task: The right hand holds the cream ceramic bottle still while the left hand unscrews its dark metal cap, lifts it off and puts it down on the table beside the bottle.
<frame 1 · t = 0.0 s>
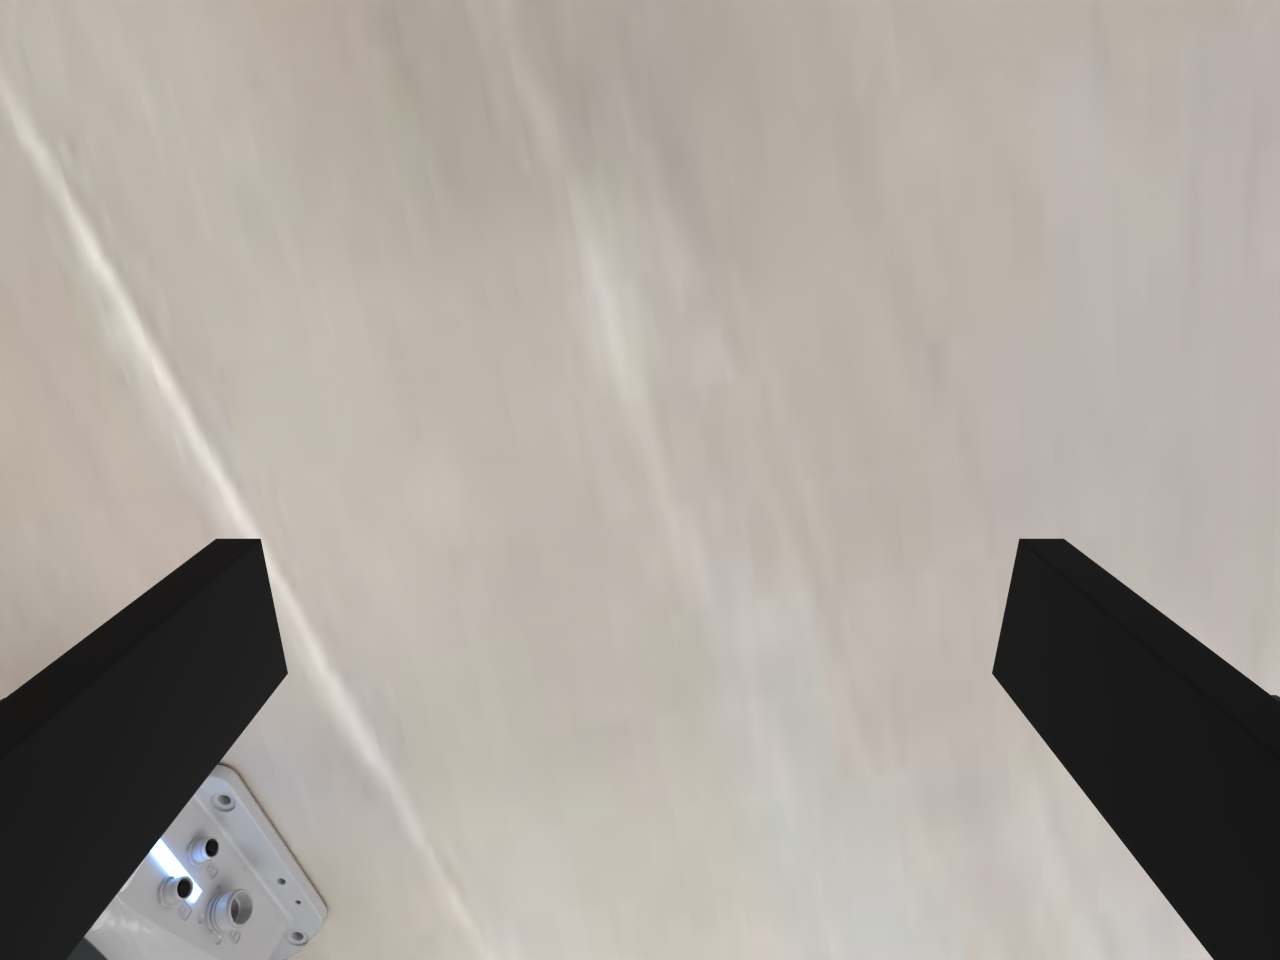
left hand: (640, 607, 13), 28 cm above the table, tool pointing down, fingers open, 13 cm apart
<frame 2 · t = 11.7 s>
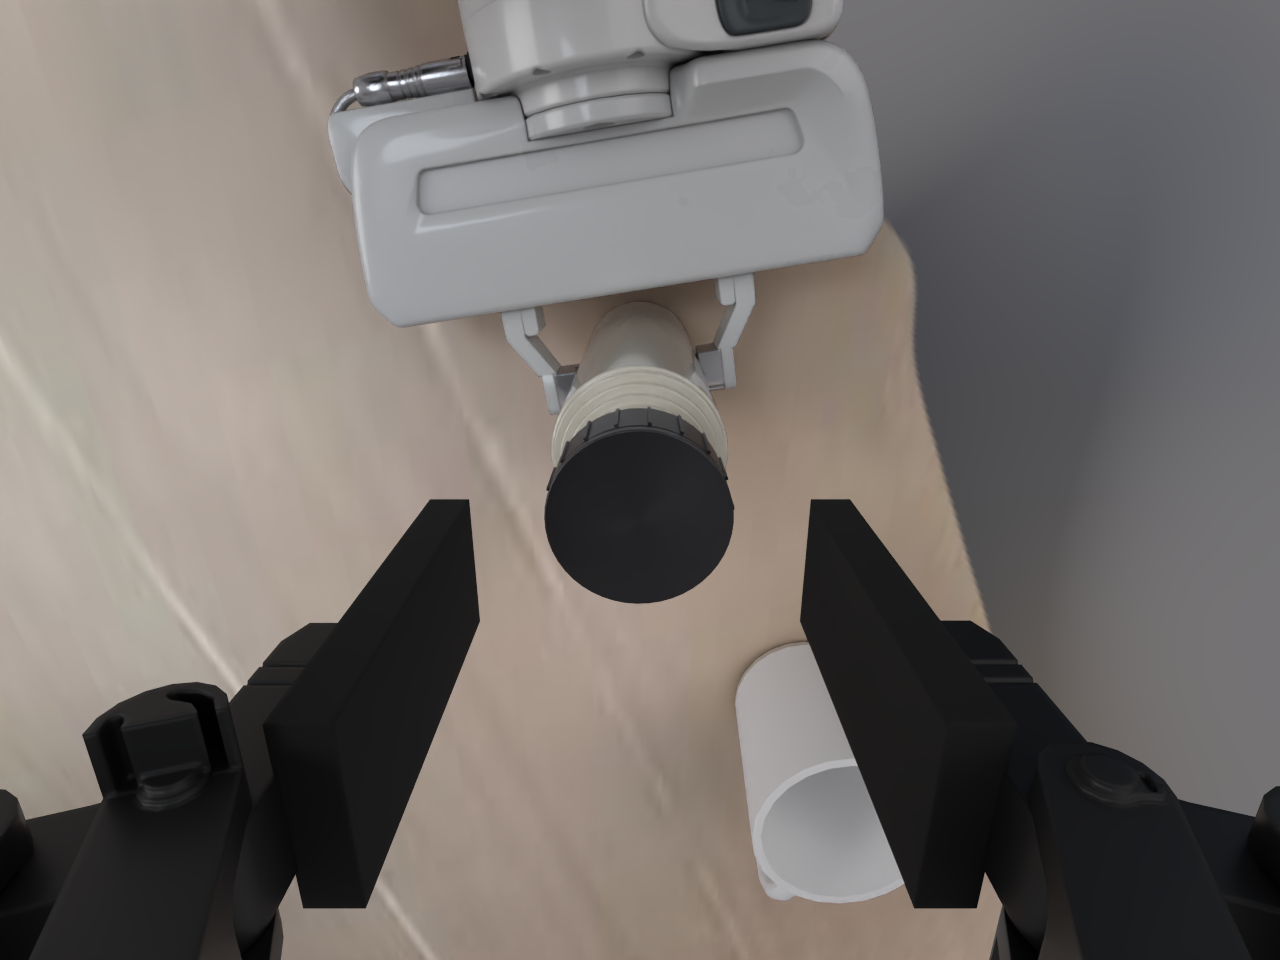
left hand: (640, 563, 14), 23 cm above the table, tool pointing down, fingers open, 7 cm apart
right hand: (644, 398, 31), fingers closed on bottle, 5 cm apart
cap: (639, 515, 16), point 21 cm above the table, screwed on, not yet turned
mug: (790, 706, 44), on the table
bottle: (639, 353, 36), on the table, touching right hand
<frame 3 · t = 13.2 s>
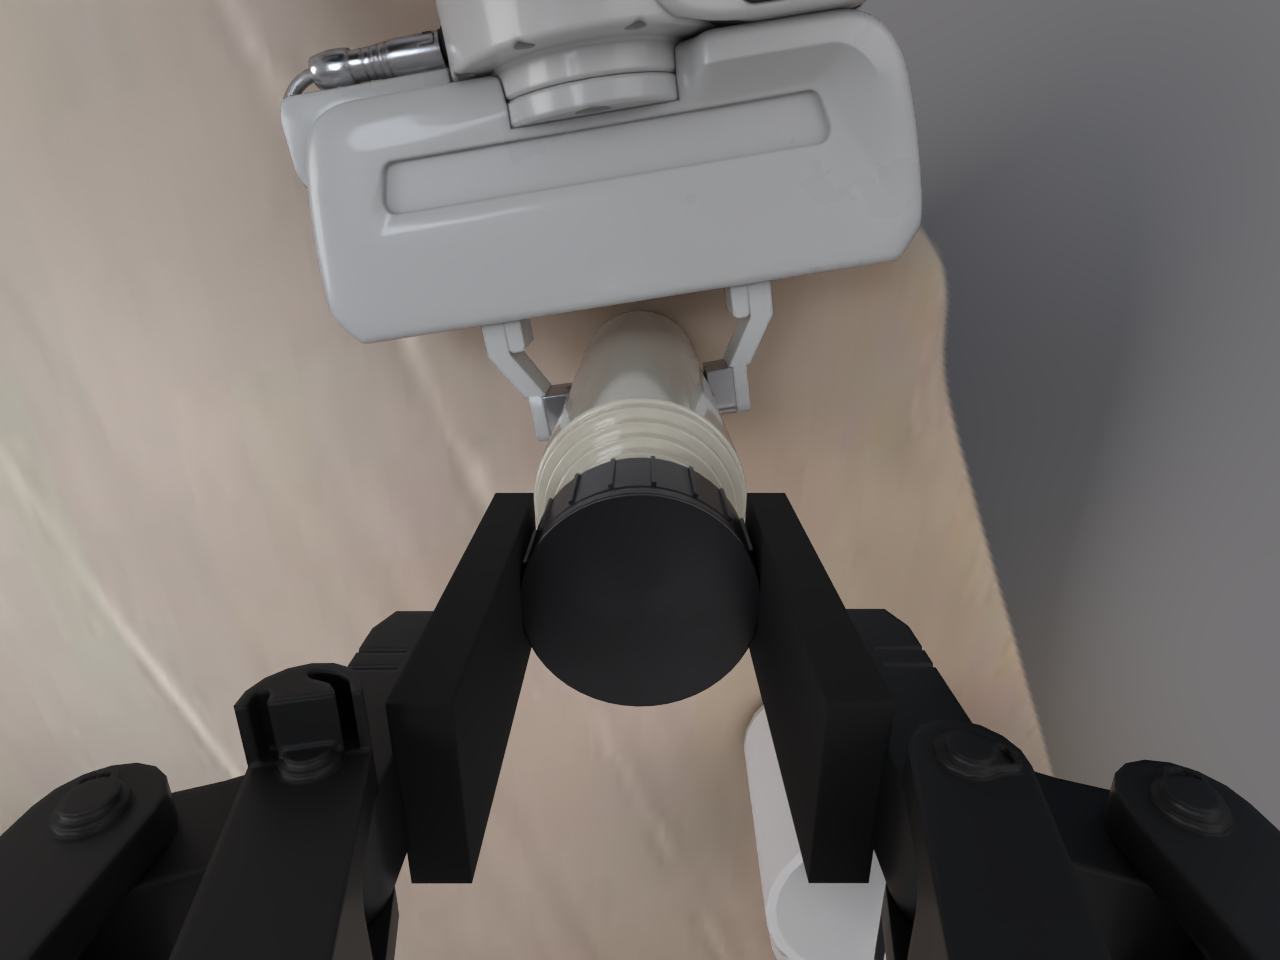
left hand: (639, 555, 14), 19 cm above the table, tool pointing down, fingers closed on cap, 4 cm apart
right hand: (645, 422, 27), fingers closed on bottle, 5 cm apart
cap: (640, 598, 13), point 21 cm above the table, screwed on, not yet turned, touching left hand
mug: (804, 749, 40), on the table
bottle: (640, 368, 33), on the table, touching right hand
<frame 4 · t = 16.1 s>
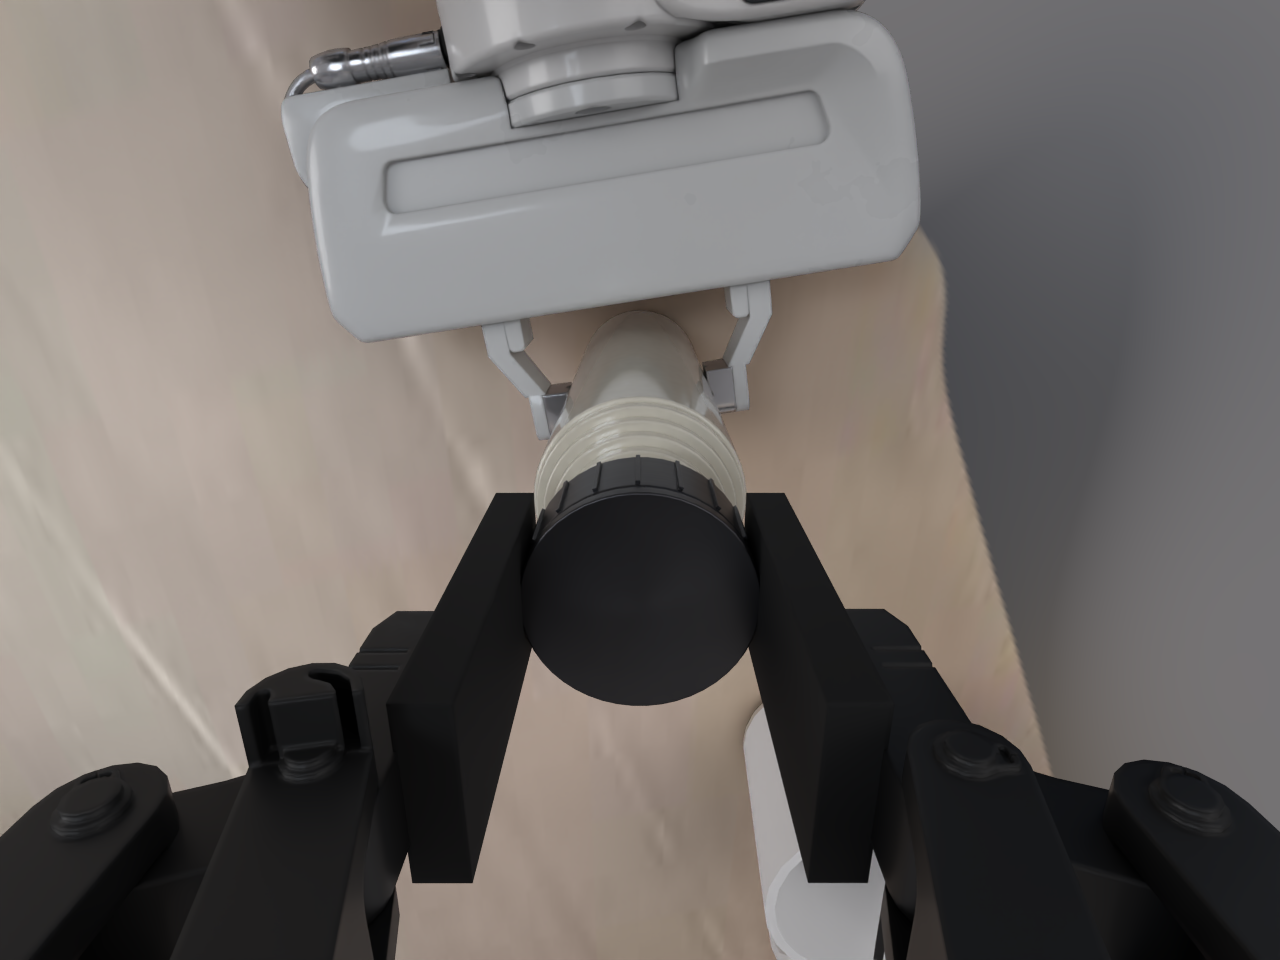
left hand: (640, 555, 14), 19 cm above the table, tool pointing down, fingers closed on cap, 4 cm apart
right hand: (644, 421, 27), fingers closed on bottle, 5 cm apart
cap: (640, 597, 13), point 21 cm above the table, turned 87° so far, risen 0.1 cm, still on its thread, touching left hand
mug: (803, 748, 40), on the table
bottle: (640, 367, 33), on the table, touching right hand
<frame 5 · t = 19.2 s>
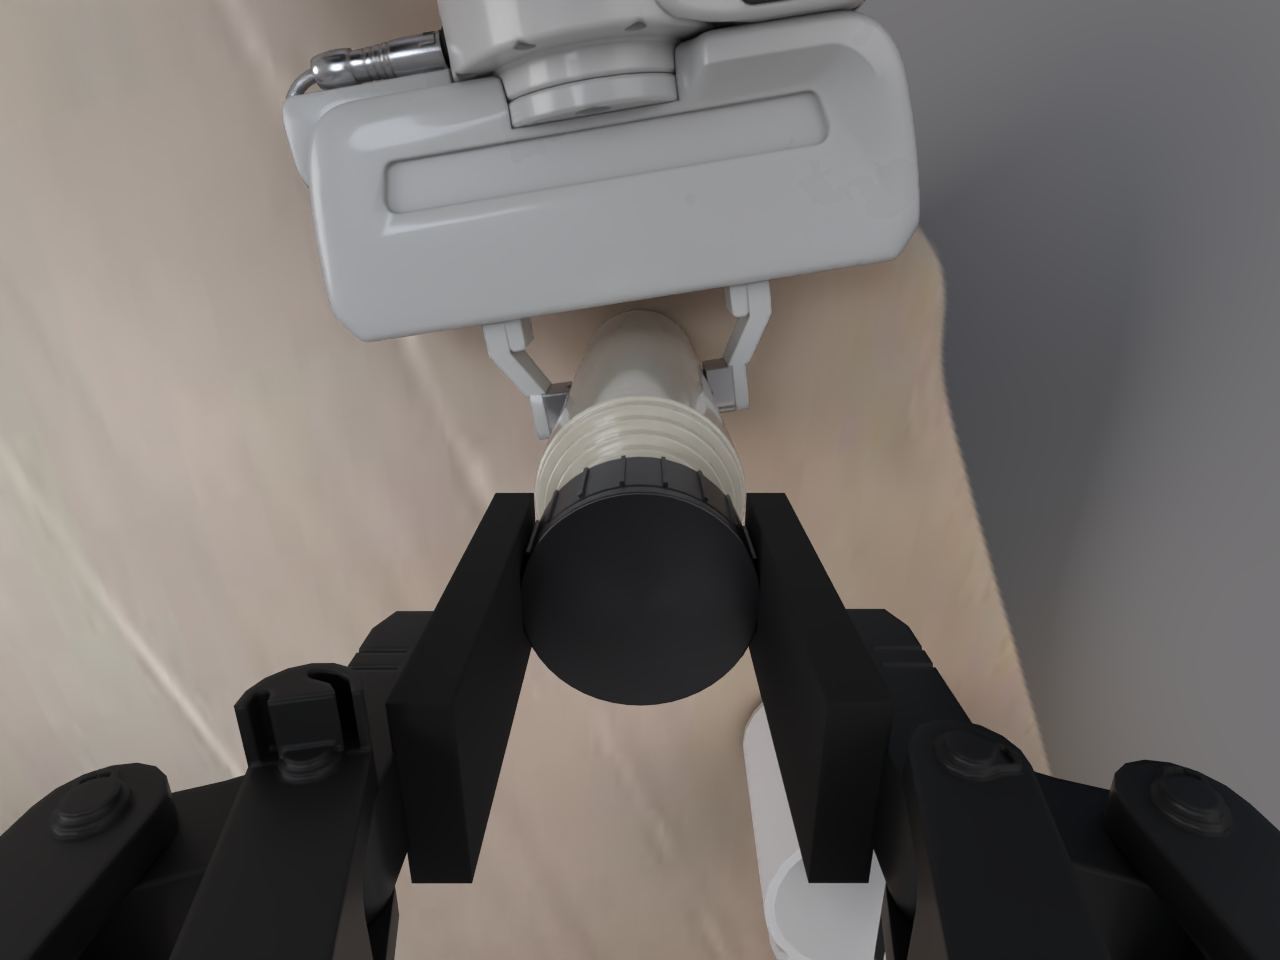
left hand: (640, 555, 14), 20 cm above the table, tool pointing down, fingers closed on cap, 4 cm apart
right hand: (644, 421, 27), fingers closed on bottle, 5 cm apart
cap: (640, 597, 13), point 21 cm above the table, turned 175° so far, risen 0.2 cm, still on its thread, touching left hand
mug: (802, 747, 40), on the table
bottle: (640, 367, 33), on the table, touching right hand
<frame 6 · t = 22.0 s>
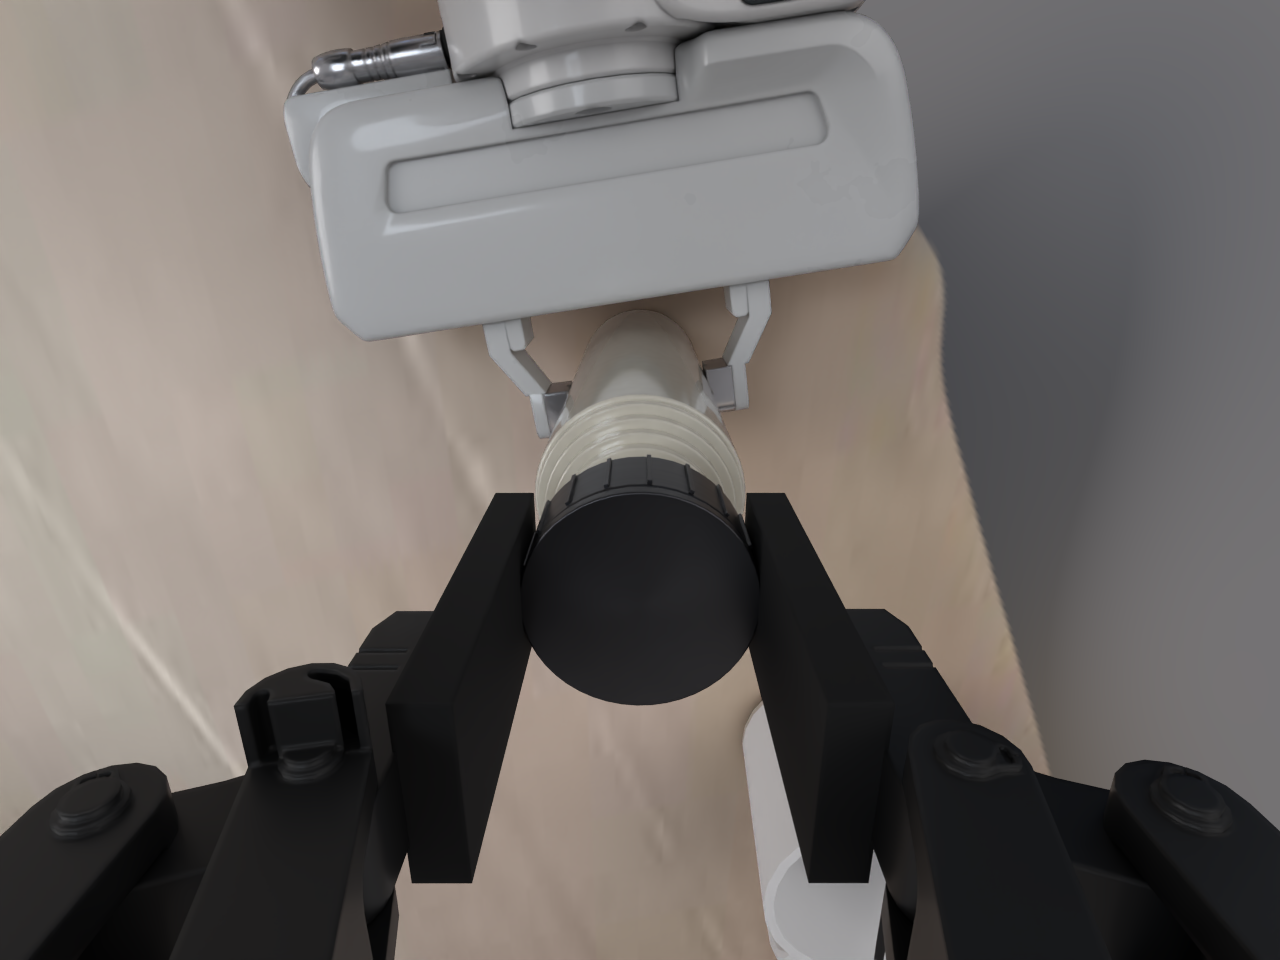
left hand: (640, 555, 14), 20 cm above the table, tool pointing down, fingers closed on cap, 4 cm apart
right hand: (644, 420, 27), fingers closed on bottle, 5 cm apart
cap: (640, 597, 13), point 21 cm above the table, turned 262° so far, risen 0.2 cm, still on its thread, touching left hand
mug: (802, 746, 40), on the table
bottle: (639, 366, 33), on the table, touching right hand
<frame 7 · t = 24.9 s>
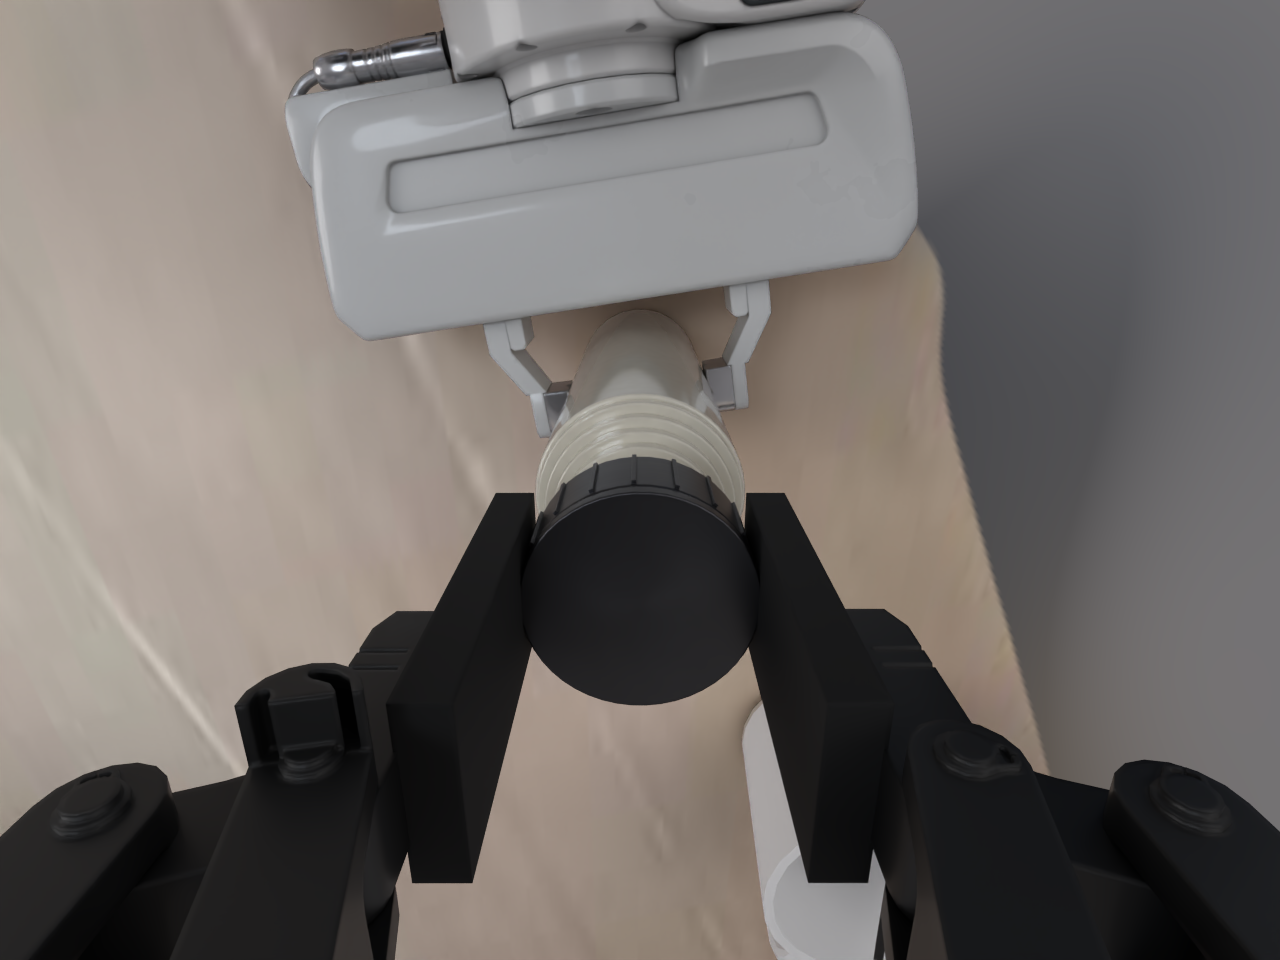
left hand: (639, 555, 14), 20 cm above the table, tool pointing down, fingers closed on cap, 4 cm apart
right hand: (644, 419, 27), fingers closed on bottle, 5 cm apart
cap: (640, 597, 13), point 21 cm above the table, turned 349° so far, risen 0.3 cm, still on its thread, touching left hand
mug: (801, 745, 40), on the table
bottle: (639, 366, 33), on the table, touching right hand
when the left hand's fingers open (1 cm above the table, at t = 34.3 s): cap drops 1 cm, point 2 cm above the table.
when the right hand's fingers open (6 cm above the table, at t = 35.7 s): bottle stays where it is, on the table.
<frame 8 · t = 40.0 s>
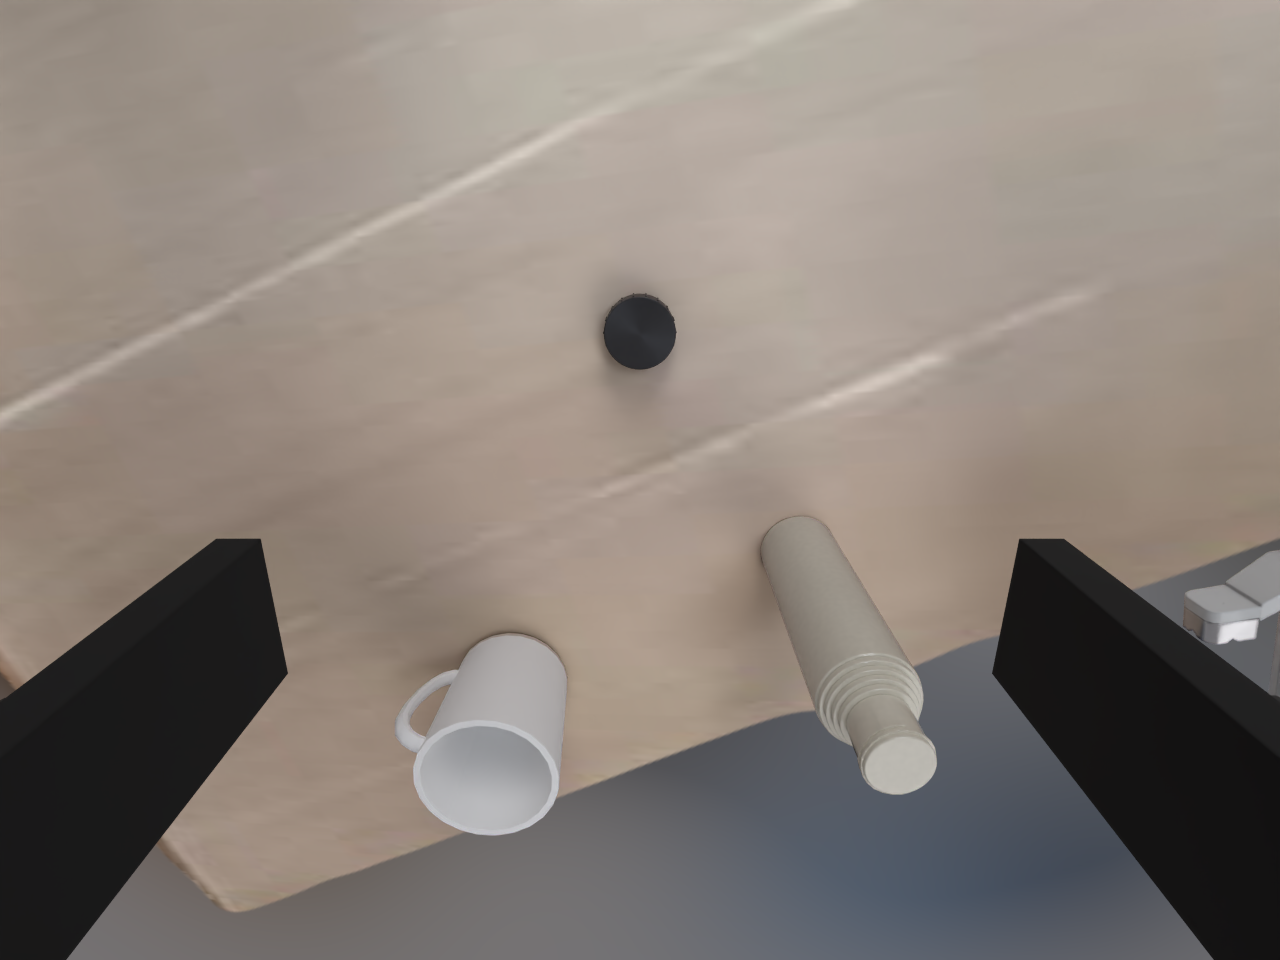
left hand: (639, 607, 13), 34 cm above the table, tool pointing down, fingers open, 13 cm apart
cap: (639, 333, 43), point 2 cm above the table, off its thread
mug: (501, 670, 53), on the table
bottle: (797, 549, 50), on the table
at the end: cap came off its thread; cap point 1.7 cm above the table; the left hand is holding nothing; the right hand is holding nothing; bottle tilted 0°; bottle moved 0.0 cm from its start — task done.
